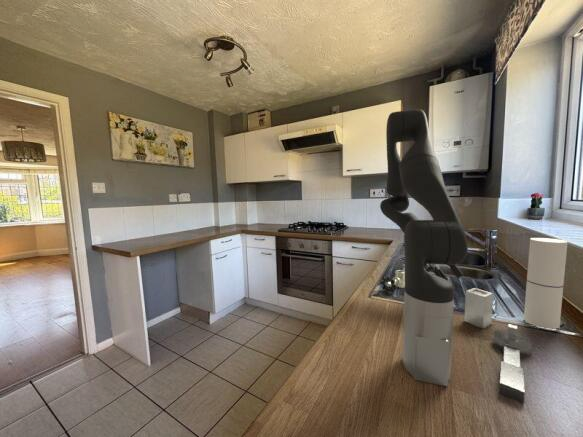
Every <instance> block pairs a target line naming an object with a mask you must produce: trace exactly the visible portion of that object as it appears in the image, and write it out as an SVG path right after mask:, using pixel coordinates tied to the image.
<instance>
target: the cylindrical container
mask: <svg viewBox="0 0 583 437" xmlns="http://www.w3.org/2000/svg"><path fill="white" fill-rule="evenodd" d="M567 250H568V241H567V240H563V239H558V238H546V237H530V238H529V251H528V262H527V273H526V274H527V275H526V288H525V299H524V301H525V302H524V314H523V321H524V320H525V321H527V322H528V323H530V324H533V325H535V326H540V327H544V328H553V329H556V328H559V329H560V328H561V325H560V324H561V314H562V306H563V305H562V304H563V294H564V283H565V275H566V274H565V271H566V261H567V252H568V251H567ZM525 321H524V322H525Z"/></svg>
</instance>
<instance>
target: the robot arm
mask: <svg viewBox="0 0 583 437" xmlns="http://www.w3.org/2000/svg"><path fill="white" fill-rule="evenodd" d="M429 129H430V128H429V124H428V118H427V115H426V113H425V111H424V110H423V109H416V108H415V109H407V110H399V111H398V110H397V111H394V112H393V111H392V112H391V113H390V114H389V115H388V117H387V121H386V129H385V130H386V131H385V132H386V136H385V137H386V139H385V140H386V161H387V179H386V188H385V189H386V193H387V194H388V195H389V196H391V197H388V198H385V199H383V200H381V202H380V205H379V207H380V210H381V212H382V215H384V216H385V217H386V218H387V219H388V220H390V221H392V223H394V224H395V225H397V226H398V227H399V229H400V231H402V233H403V245H404V246H403V248H404V250H403V251H404V271H405V287H404V301H403V302H404V305H403V335H402V336H403V337H402V339H403V340H402V342H403V343H402V363H403V364H402V365H403V367H404V369H405V370H406V371H407V372H408V373H409V374H410V375H411V376H412V378H413V380H414V381H419V382H422V383H428V384H434V385H438V386H444V387H448V386H449V381H450V379H451V372H452V371H451V370H452V348H453V347H452V346H453V328H454V327H453V325H454V324H453V323H454V322H453V321H454V307H455V306H454V304H455V303H454V302H455V287H454V285H453V284H452V282H450V281H449V278H448V276H447V275H446V274H445V273H444V271H443V270H442V269H441V268H440V265H442V266H445V267H447V268H449V270H450V271H451V272H452V274H453V275H454V276H455V277H456V278H457V279H460V278H462V277H463V276H465V275H464V272H462V271H461V269H460V268H459V267H458V266H457V265H459V264H460V265H461V264H462V263H464V262H465V260H466V258H467V256H468V250H469V246H468V245H469V244H468V239H467V236H466V232H465V229H464V226H463V224H462V222H461V219H460V218H459V216H458V214H457V211H456V209H455V207H454V205H453V203H452V200H451V199H450V195H449V194H448V193H449V192H448V190H447V187H446V184H445V181H444V177H443V172H442V169H441V167H440V164H439V161H438V158H437V155H436V153H435V149H434V146H433V143H432V140H431V134H430V130H429ZM406 142H413V144H412V145H411V147H409V149H408V150H407V151H406V152H405V153H404V154H403V156H402V158H401V156H400V154H399V152H398V147H397V145H398V143H406ZM408 195H409V196H410V197H411V198H412V199H413V200H415V202H417V203H418V204H419V205H420V206H422V207H423V208H424V209H425V210H426V211H427V212H428V213H429V215H430V217H431V218H432V219H419V218H418V216H416V214H414V213H413V212H405V211H407V209H408V208H409V206H410V200H409V196H408ZM427 264H428V265H427ZM430 272H431V273H430Z"/></svg>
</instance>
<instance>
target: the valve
mask: <svg viewBox="0 0 583 437" xmlns="http://www.w3.org/2000/svg"><path fill="white" fill-rule="evenodd" d="M394 272H395V276H394V277H393V278H392V279H391V276H390V275H389V276H382V277H381V279H382V280H381V281H380V284H381V285H382V286H381V289H382V290H386V291H388V292H389V293H395V292H396V291H395V289H396V288H398V287H399V288H400V289H403V288H404V289H405V270H403V269H397V270H395V271H394ZM399 288H398V289H399Z"/></svg>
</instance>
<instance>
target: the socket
mask: <svg viewBox="0 0 583 437" xmlns="http://www.w3.org/2000/svg"><path fill="white" fill-rule="evenodd" d="M464 301H465V302H464V318H463V319H464V320H463V321H464V322H466V323H468V324H470V325H472V326H475V327H477V328H480V329H482V330H483V329H485V328H488V327H489V326H491V325H492V322H493V321H492V319H493V309H494V308H493V306H494V293H493V292H489V291H486V290H482V289H479V288H477V287H473V288H470V289H467V290H466V291H465V300H464ZM490 324H491V325H490ZM487 326H488V327H487Z"/></svg>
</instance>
